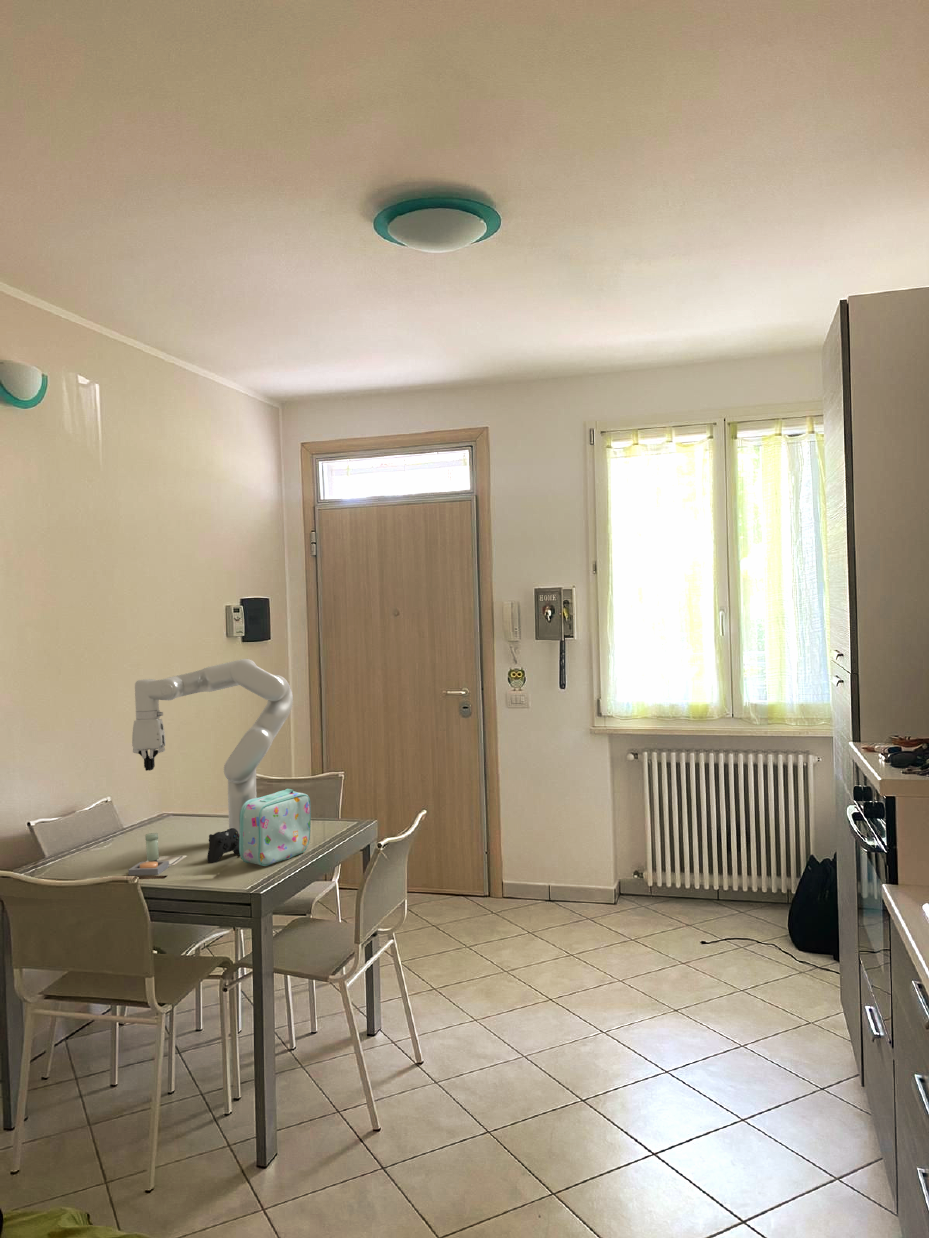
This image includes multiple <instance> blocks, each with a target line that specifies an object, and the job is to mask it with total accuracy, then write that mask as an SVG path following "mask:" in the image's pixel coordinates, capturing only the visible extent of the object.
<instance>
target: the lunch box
mask: <svg viewBox="0 0 929 1238" xmlns="http://www.w3.org/2000/svg"><path fill="white" fill-rule="evenodd" d="M311 809H312V807H311V799H310V797H309V795H308V794H306V793H303V792H297V791H294V789H291V788H286V789H285V790H284V789H283V790H279V791H277V792H274V793H270V794H267V795H264V796H261V797H260V796H259V797H257V798H254V799H250V800H248V801H246V802H245V803H244V804H243V806H242V808H241V811H240V837H239V853H240V857H239V858H240V859H241V860H242V862H243V863H245V864H253V865H258V866H264V867H267V866H271V865H272V864H275V863H278V862H281V861H285V860H289V859H292V858H294V857H295V856H298V855H301V854H302V853H305V851H306V850H307V848H308V846H309V844H310V839H311V820H312V819H311V814H312V813H311V812H312V811H311Z"/></svg>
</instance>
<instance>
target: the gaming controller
mask: <svg viewBox="0 0 929 1238" xmlns="http://www.w3.org/2000/svg"><path fill="white" fill-rule="evenodd" d="M239 837H240V835H239V833H238V831H237V830H236V829H235V828H230V829H229V828H228V829H226V830H223V831H217V832H215V833H213V834H209V835H208V838H209V839H208V842H209V843H208V844H209V845H208V850H207V856H206V857H207V859H206V860H207V863H208V864H214V863H218V862H219V860H220V859H221V858H222V857H223V855H224V854H227V853H230V852H233V854H234V855H237V856H240V853H239Z"/></svg>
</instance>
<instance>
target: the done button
mask: <svg viewBox="0 0 929 1238" xmlns="http://www.w3.org/2000/svg"><path fill="white" fill-rule="evenodd" d="M143 862H144V863H141V864H140V868H156V867H158V862H154V861H152V862H146V861H143Z"/></svg>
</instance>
